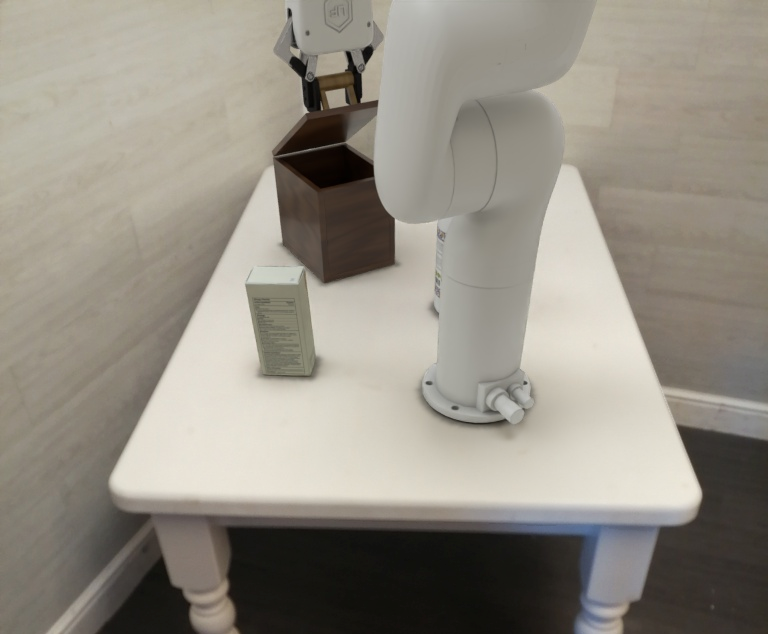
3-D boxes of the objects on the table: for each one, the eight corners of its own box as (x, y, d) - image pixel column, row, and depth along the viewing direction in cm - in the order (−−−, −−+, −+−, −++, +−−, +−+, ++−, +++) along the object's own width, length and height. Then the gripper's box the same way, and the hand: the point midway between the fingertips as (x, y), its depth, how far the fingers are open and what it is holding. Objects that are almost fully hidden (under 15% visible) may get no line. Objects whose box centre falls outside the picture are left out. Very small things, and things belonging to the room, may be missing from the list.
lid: (389, 104, 94) (379, 60, 92) (307, 119, 90) (294, 74, 88) (346, 142, 108) (336, 104, 106) (273, 156, 104) (261, 118, 102)
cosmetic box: (316, 357, 90) (308, 265, 82) (310, 377, 87) (301, 284, 79) (266, 355, 91) (252, 263, 82) (258, 375, 88) (243, 281, 79)
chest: (395, 264, 108) (395, 174, 99) (324, 283, 104) (317, 192, 95) (349, 227, 117) (345, 142, 108) (282, 243, 113) (272, 157, 104)
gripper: (266, -57, 77) (286, 128, 90) (404, -70, 83) (404, 106, 95) (240, -64, 82) (262, 113, 94) (372, -75, 88) (376, 92, 100)
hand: (333, 108), depth 95 cm, fingers closed on lid, 5 cm apart
